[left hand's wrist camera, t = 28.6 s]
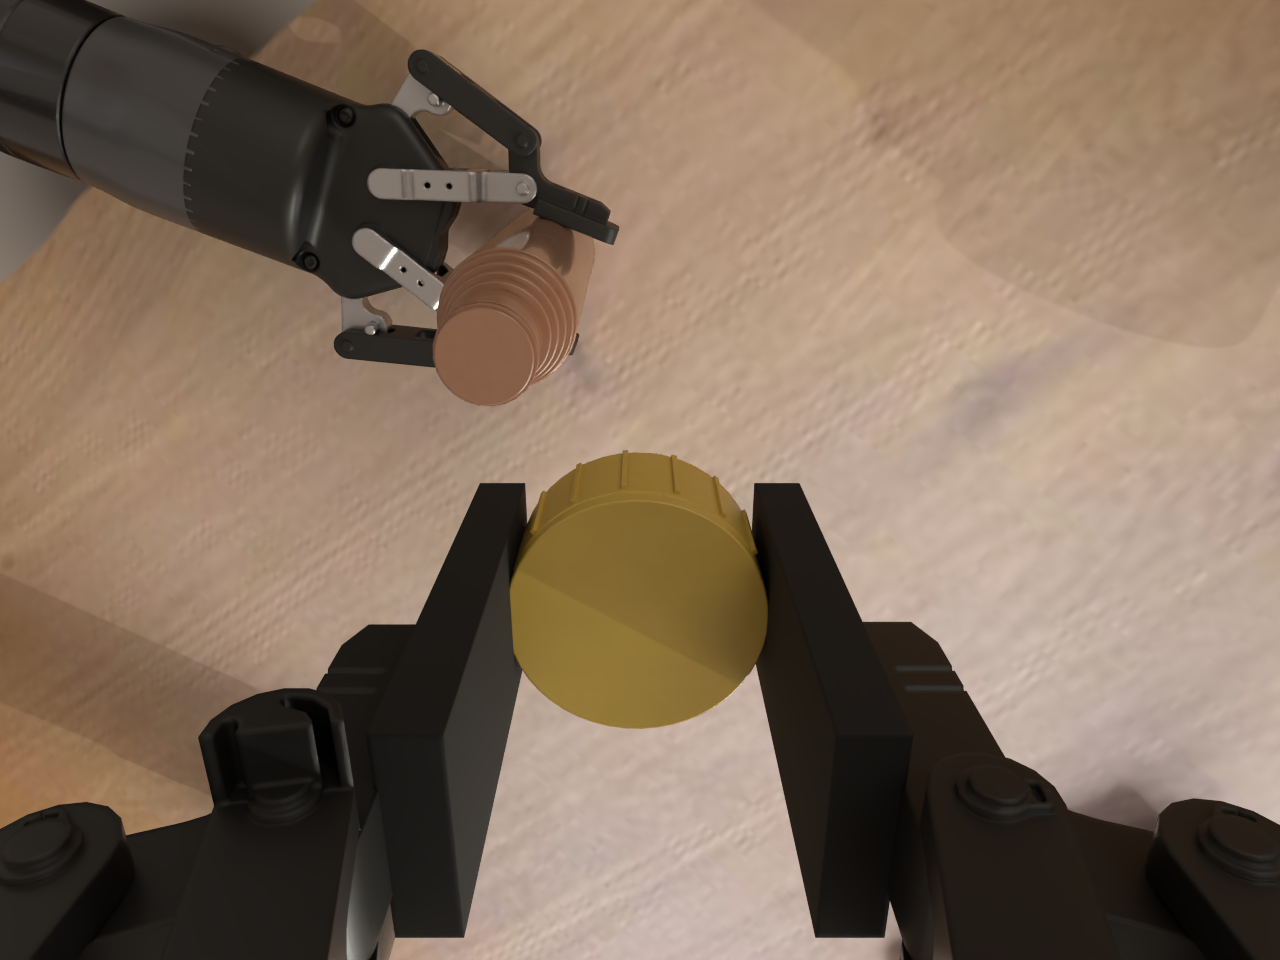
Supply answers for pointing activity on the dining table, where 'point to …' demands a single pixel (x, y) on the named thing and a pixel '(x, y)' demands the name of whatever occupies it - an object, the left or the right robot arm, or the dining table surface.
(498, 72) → the dining table surface
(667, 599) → the cap
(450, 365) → the bottle
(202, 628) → the dining table surface
